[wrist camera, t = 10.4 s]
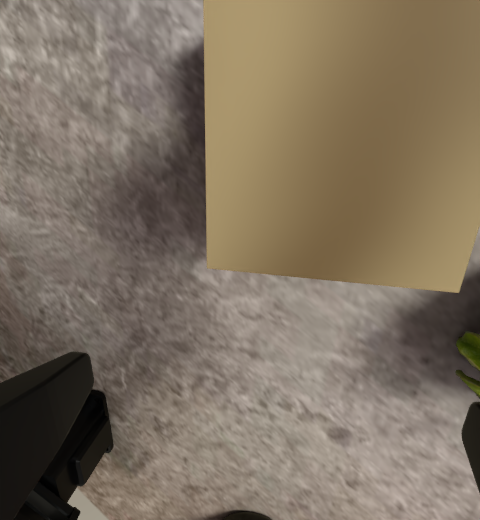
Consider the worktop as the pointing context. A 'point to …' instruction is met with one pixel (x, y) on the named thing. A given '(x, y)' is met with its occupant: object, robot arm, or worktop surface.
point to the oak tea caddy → (343, 139)
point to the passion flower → (470, 358)
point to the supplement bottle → (246, 516)
